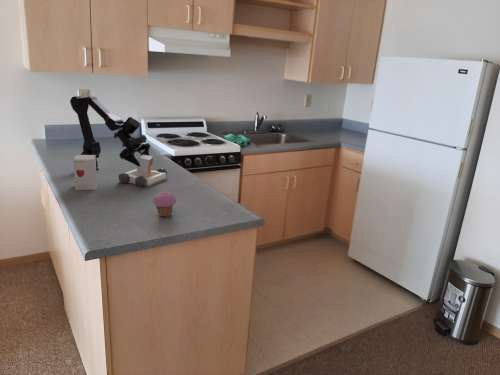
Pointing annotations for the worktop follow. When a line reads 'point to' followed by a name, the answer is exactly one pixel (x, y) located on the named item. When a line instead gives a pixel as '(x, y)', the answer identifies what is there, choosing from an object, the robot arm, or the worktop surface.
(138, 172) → the small box
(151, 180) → the chassis
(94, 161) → the supplement box
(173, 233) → the worktop surface
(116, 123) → the robot arm
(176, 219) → the worktop surface
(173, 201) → the cupcake
